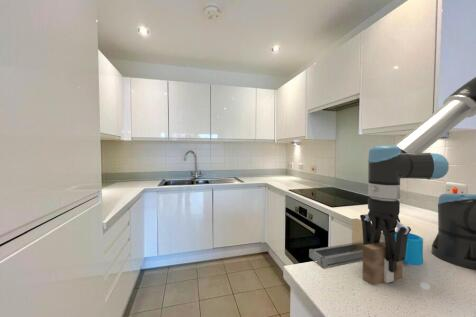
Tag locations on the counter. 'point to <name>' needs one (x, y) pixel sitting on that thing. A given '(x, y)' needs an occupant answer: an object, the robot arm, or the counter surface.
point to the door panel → (377, 263)
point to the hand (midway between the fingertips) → (382, 277)
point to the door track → (341, 250)
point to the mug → (413, 249)
